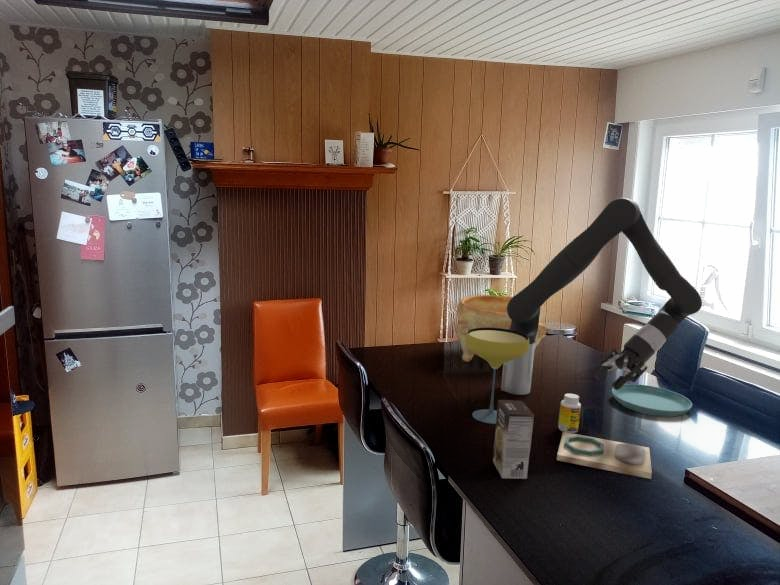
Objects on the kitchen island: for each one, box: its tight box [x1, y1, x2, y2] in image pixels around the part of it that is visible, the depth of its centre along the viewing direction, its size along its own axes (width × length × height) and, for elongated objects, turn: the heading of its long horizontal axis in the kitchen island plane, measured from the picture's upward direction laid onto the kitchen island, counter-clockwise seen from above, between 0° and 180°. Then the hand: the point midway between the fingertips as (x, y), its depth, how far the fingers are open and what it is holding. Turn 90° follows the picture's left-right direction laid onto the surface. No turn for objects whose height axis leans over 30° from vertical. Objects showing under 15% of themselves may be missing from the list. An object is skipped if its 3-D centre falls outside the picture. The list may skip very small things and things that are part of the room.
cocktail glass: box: [466, 328, 529, 425], centre depth 178 cm, size 18×18×25 cm
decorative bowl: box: [453, 294, 547, 363], centre depth 241 cm, size 34×35×23 cm
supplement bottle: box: [557, 393, 582, 434], centre depth 173 cm, size 6×6×10 cm
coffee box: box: [492, 399, 535, 480], centre depth 145 cm, size 9×6×16 cm
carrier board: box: [556, 431, 653, 480], centre depth 157 cm, size 22×16×4 cm
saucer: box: [611, 383, 693, 417], centre depth 198 cm, size 24×24×3 cm
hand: (605, 382), depth 174 cm, fingers open, 8 cm apart
